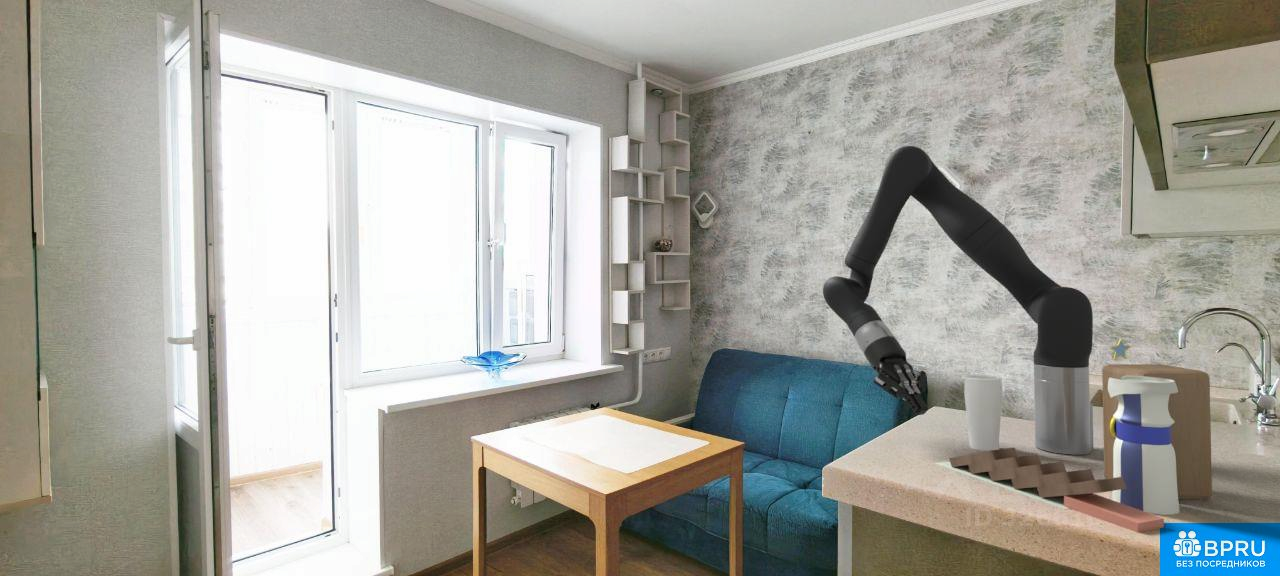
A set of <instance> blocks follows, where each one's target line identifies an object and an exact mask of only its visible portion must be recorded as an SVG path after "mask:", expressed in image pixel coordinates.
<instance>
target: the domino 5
mask: <svg viewBox="0 0 1280 576" xmlns="http://www.w3.org/2000/svg"><path fill="white" fill-rule="evenodd" d="M1120 489H1127V486H1126V484H1125V482H1124V479H1123V477H1116V478H1100V479H1095V480H1090V481H1083V482H1076V483H1069V484H1059V485H1049V486H1040V487H1037V490H1038V492H1039V495H1040V498H1041V497H1053V496H1065V495H1077V494H1089V493H1093V494H1099V493H1108V492H1113V491H1114V490H1120Z"/></svg>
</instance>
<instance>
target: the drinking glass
mask: <svg viewBox="0 0 1280 576" xmlns="http://www.w3.org/2000/svg"><path fill="white" fill-rule="evenodd" d="M963 382H964V383H963V393H964V396H963V397H964V404H965V413H966V414H965V415H966V422H967V430H968V443H969V444H968V446H969V448H970V449H972V450H974V451H979V452H986V451H991V450H1000V436H1001V434H1000V431H1001V420H1002V411H1003V410H1002V409H1003V381H1002V377H1000V376H996V375H989V374H987V375H986V374H968V375H967V374H966V375H964V381H963Z"/></svg>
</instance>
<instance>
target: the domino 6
mask: <svg viewBox="0 0 1280 576" xmlns="http://www.w3.org/2000/svg"><path fill="white" fill-rule="evenodd" d="M1064 506H1065V507H1068V508H1070V510H1073V511H1076V512H1078V513H1080V514H1084V515H1087V516H1090V517H1092V518H1095V519H1099V520H1101V521H1104V522H1106V523H1107V522H1108V523H1109V524H1112V525H1115V526H1118V527H1121V528H1124V529H1126V530H1130V531H1132V532H1136V533H1142V532H1146V531H1152V530H1158V529H1162V528H1163V529H1164V526H1165V525H1164V521H1165V518H1163V517H1161V516H1158V515H1156V514H1150V513H1147V512H1144V511H1141V510H1139V509H1136V508H1133V507H1130V506H1127V505H1124V504H1122V503H1119V502H1116V501H1113V500H1112V499H1110V498H1108V497H1104V496H1103V495H1099V494H1097V493H1089V494H1077V495H1065V496H1064Z"/></svg>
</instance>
